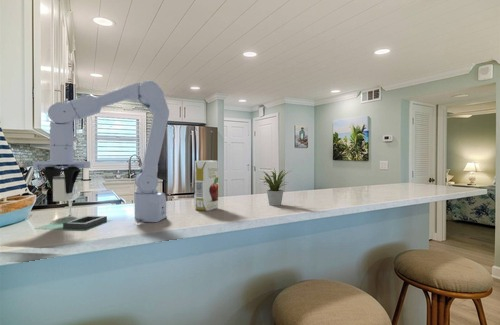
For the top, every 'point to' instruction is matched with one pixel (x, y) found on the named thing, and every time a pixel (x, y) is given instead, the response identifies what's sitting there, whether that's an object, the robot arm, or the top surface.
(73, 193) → the wineglass
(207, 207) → the juice carton
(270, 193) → the house plant
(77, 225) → the circuit board
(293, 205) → the top surface
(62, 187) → the plug
